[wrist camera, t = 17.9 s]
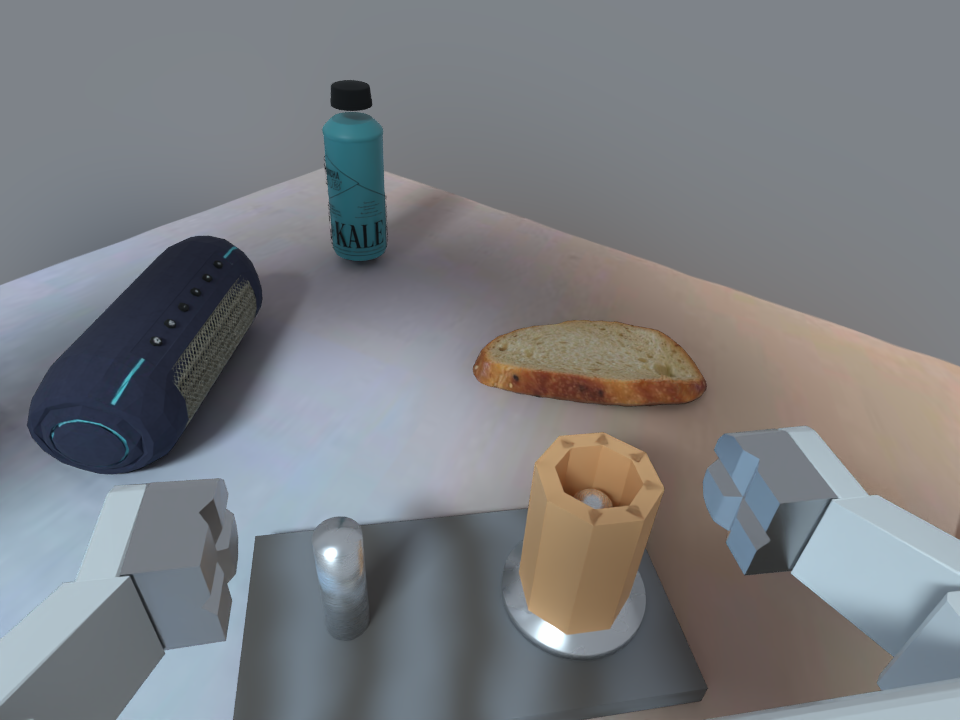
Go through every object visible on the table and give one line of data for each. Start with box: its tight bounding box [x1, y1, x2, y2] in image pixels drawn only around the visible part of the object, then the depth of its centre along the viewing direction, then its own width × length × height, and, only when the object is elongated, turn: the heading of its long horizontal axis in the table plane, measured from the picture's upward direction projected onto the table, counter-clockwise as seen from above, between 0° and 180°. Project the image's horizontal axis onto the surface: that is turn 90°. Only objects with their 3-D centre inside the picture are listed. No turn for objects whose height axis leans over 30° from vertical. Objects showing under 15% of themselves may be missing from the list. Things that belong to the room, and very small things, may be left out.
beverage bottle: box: [323, 80, 388, 261], centre depth 71 cm, size 6×7×20 cm
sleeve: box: [519, 432, 664, 635], centre depth 38 cm, size 6×6×10 cm
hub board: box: [233, 489, 708, 720], centre depth 38 cm, size 26×14×11 cm, turn 100°
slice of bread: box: [473, 320, 707, 406], centre depth 61 cm, size 18×18×4 cm
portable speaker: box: [27, 236, 262, 474], centre depth 55 cm, size 25×10×10 cm, turn 176°
